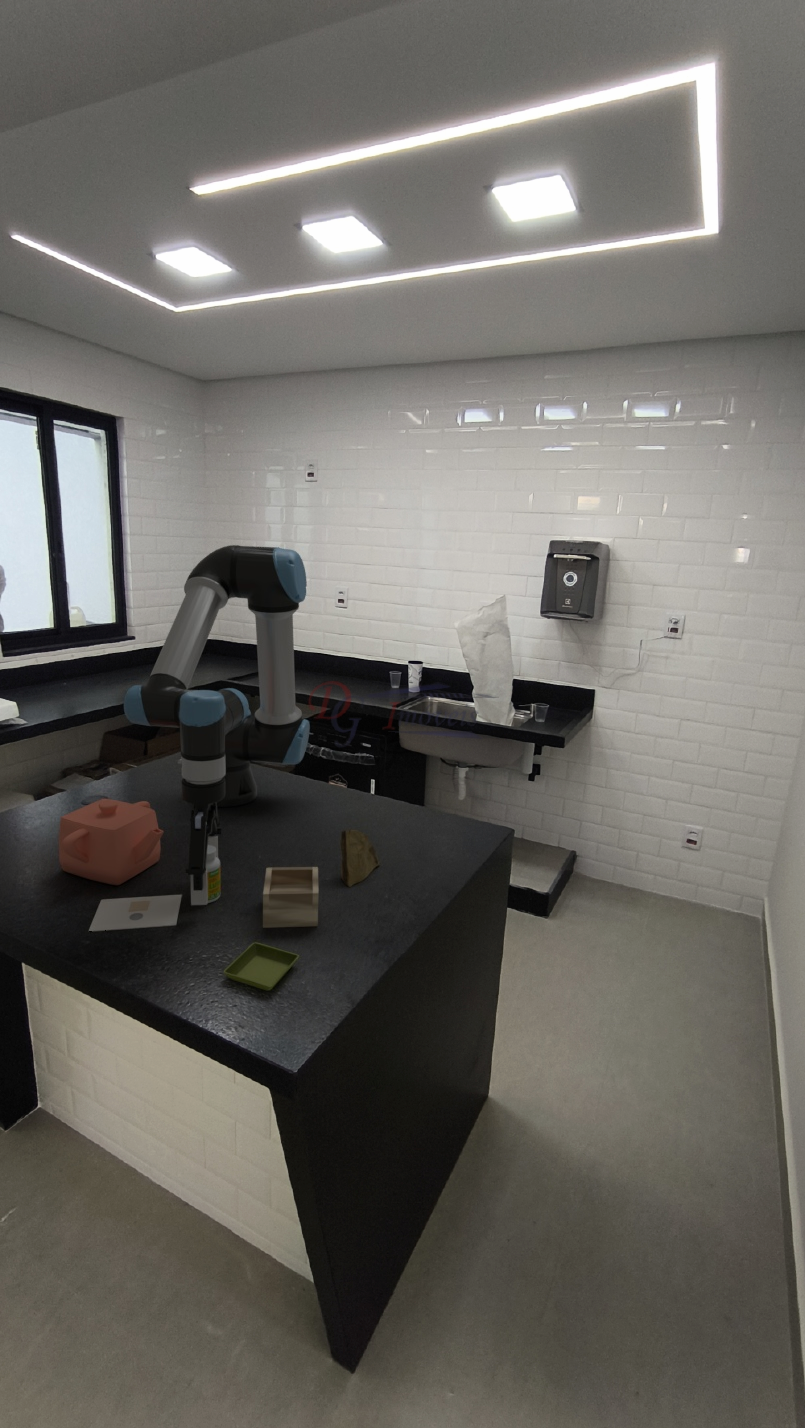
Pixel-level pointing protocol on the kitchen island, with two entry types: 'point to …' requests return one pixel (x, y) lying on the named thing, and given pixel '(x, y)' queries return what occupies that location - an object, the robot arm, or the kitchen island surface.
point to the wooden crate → (290, 897)
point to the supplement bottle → (213, 874)
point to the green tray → (261, 966)
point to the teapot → (109, 840)
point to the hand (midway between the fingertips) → (205, 884)
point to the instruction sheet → (136, 913)
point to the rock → (356, 857)
